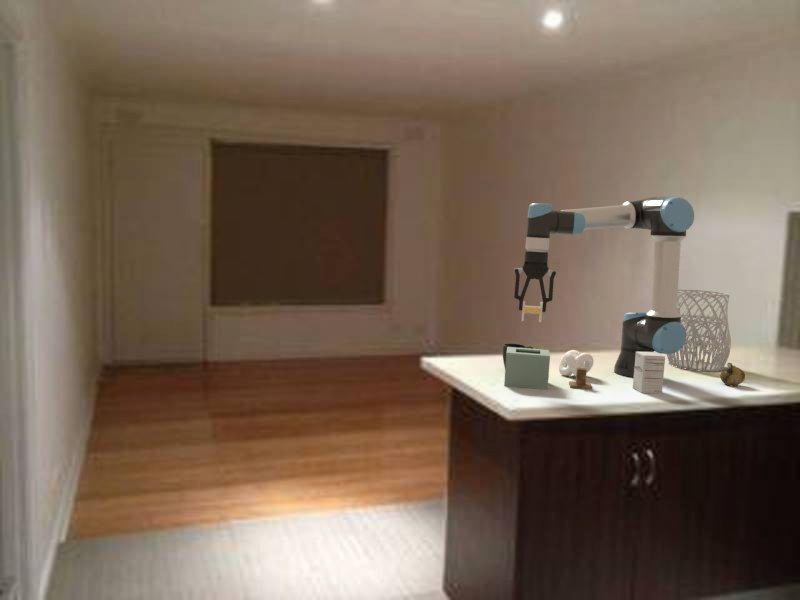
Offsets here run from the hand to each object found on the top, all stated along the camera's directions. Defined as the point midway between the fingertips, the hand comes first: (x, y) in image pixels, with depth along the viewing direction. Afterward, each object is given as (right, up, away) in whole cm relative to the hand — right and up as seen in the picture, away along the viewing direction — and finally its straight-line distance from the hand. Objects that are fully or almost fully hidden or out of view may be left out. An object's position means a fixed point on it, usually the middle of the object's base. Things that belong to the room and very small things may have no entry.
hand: (531, 321), depth 248 cm
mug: (-1, -19, +23) cm, 30 cm away
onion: (+74, -23, +18) cm, 80 cm away
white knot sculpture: (+18, -21, +18) cm, 33 cm away
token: (0, +3, 0) cm, 3 cm away
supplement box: (+39, -23, +1) cm, 45 cm away
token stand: (+17, -22, +2) cm, 28 cm away
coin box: (-1, -21, +2) cm, 21 cm away
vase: (+75, -20, +52) cm, 93 cm away
